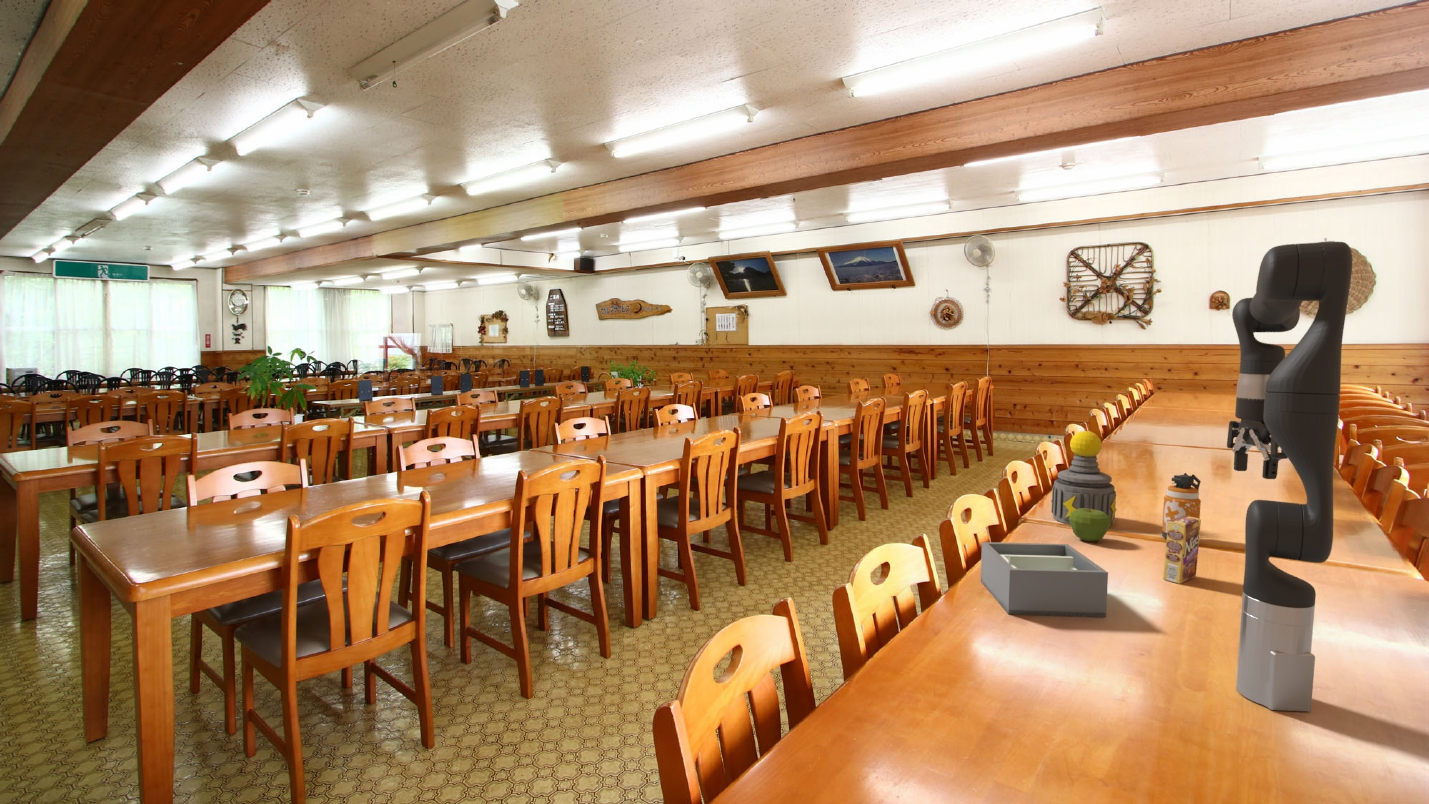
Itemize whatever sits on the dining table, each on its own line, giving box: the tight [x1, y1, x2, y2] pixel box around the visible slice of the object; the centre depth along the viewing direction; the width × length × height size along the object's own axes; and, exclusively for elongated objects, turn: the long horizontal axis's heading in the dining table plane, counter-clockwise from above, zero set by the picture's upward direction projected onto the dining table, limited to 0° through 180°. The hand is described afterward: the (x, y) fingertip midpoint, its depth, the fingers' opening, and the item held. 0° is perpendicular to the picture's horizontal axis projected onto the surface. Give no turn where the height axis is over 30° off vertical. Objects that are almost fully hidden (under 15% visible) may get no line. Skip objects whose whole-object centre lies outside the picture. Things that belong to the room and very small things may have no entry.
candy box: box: [1162, 516, 1202, 585], centre depth 169 cm, size 9×4×15 cm, turn 123°
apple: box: [1069, 508, 1111, 543], centre depth 201 cm, size 11×10×10 cm
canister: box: [1161, 472, 1202, 540], centre depth 201 cm, size 9×11×20 cm
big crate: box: [980, 541, 1109, 618], centre depth 157 cm, size 20×20×10 cm
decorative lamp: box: [1050, 430, 1117, 526], centre depth 223 cm, size 19×19×30 cm
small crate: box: [1000, 554, 1077, 570], centre depth 157 cm, size 14×14×9 cm
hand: (1254, 474), depth 139 cm, fingers open, 8 cm apart
